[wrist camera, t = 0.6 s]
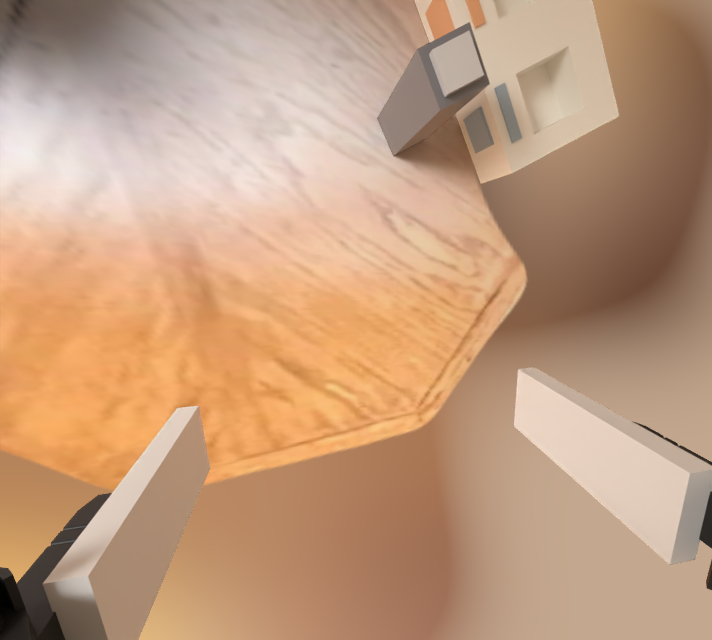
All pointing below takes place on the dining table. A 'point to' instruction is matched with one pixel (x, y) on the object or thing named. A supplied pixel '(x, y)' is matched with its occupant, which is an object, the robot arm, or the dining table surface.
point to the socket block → (528, 77)
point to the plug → (433, 88)
